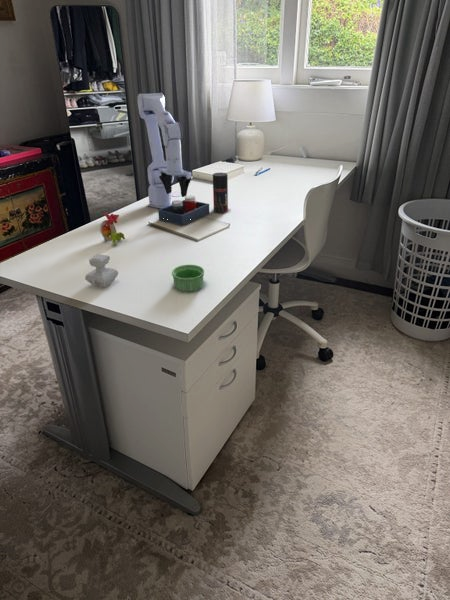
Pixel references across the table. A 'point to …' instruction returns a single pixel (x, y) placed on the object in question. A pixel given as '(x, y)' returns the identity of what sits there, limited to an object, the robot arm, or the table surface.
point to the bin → (183, 219)
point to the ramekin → (188, 277)
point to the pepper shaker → (177, 207)
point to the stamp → (101, 271)
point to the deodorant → (220, 192)
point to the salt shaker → (190, 203)
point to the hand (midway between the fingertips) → (176, 194)
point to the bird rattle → (110, 229)
